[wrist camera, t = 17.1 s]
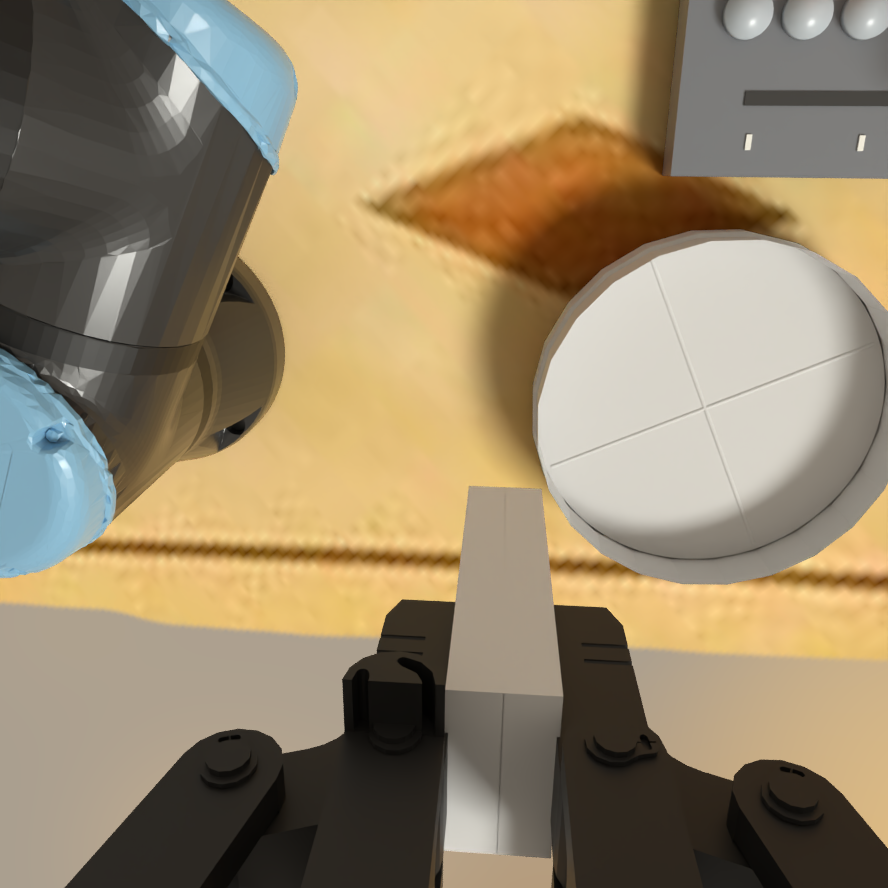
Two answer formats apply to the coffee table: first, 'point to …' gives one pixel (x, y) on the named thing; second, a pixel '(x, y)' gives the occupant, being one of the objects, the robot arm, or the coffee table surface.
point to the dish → (715, 406)
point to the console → (779, 89)
